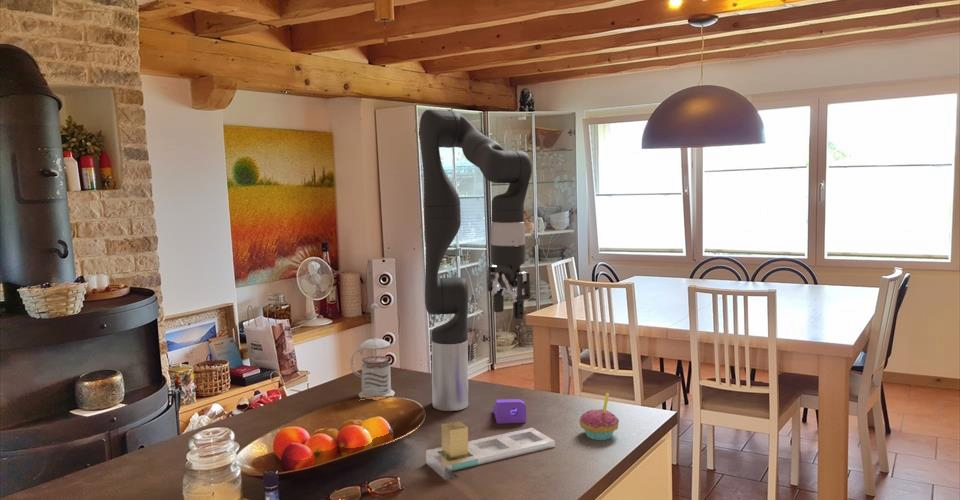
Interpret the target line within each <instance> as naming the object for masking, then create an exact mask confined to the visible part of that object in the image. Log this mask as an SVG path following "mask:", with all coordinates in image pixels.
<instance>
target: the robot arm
mask: <svg viewBox="0 0 960 500" xmlns="http://www.w3.org/2000/svg"><path fill="white" fill-rule="evenodd" d="M418 133H419V143H420V152H421V153H420V154H421V162H422V171H423V172H422V173H423V223H424V240H425V268H424V270H425V271H424V272H425V274H424V275H425V276H424V304H425V310H426V312H427V313H428V314H429V315H433V316H435V315H453V314H454V315H453V316H452V318H451V319H449V320H448V321H447V322H445V323H442V324H441V325H438V326H436V327H434V328H433V329H432V330H431V333H430V334H431V335H430V336H431V337H430V338H431V387H432V388H431V389H432V391H431V394H432V398H431V399H432V400H431V401H432V407H433V408H434V409H435V410H437V411H442V412H454V411H456V412H457V411H461V410H464V409H466V408H468V406H469V355H468V354H469V350H468V349H469V346H468V345H469V344H468V342H469V341H468V317H469V316H468V313H469V311H468V310H469V285H468V282H467V280H466V278H464V277H459V276H458V277H454V276H453V277H439V270H440V267H441V264H442V261H443V258H444V257H445V254H446V253H447V251H448V249H449V247H450V246H451V245H452V243H453V241H454V239H455V237H456V236H457V234H458V233H459V231H460V228H461V224H462V223H461V222H462V218H461V217H462V216H461V214H462V213H461V212H462V211H461V198H460V197H459V194H458V191H457V189H456V188H455V187H454V184H453V182H452V181H451V180H450V178H449V176H448V174H446V171H445V168H444V167H443V163H442V161H441V154H440V148H448V149H449V148H458V149H459V148H460V149H462V154H463V156H464V157H465V159H466V160H467V161H468V162H470V163H471V164H472V165H473V166H476V167H477V168H478V169H479V170H480V172H481V173H482V175H483V176H484V179H485V180H487V181H488V182H491V183H493V184H509V185H508V188H507V190H506V191H505V192H504V193H500V194H497V195H495V196H493V197H492V200H491V228H490V263H491V264H492V265H488V266H487V267H488V268H487V269H488V270H487V291H488V292H491V295H492V296H493V312H494V313H503V312H504V302H505V301H504V293H505V290H507V293H508V294H510V295H511V298H512V301H513V302H512V318H513V319H514V320H522V319H523V318H524V314H525V313H524V307H525V306H524V302H525V301H529V300H530V299H531V286H530V285H531V283H530V282H531V281H530V280H531V279H530V272H529V271H521V265H524V264H525V262H526V229H525V210H524V208H525V199H526V196H527V193H528V188H529V185H530V181H531V177H532V171H533V164H532V160H531V158H530V156H529V154H528V153H527V152H525V151H523V150H504V147H503V146H502V145H501V144H499V142H497V141H495V140H494V139H492V138H490V137H489V136H487V135H484V134H483V133H481V132H480V131H479V130H478V129H477V128H476V127H475V126H474V125H473V124H472V123H471V122H470V121H468V119H467V118H466V117H465V116H464V115H463V114H461V113H459V112H458V111H453V110H446V109H445V110H443V109H426V110H424V111H423V112H422V114H421V115H420V120H419V132H418Z"/></svg>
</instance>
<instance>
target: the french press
mask: <svg viewBox="0 0 960 500" xmlns="http://www.w3.org/2000/svg"><path fill="white" fill-rule="evenodd" d="M378 306H379V305H378V304H377V303H371V304H370V309H373V321H374V323H373V324H374V325H373V326H374V327H373V328H374V330H376V313H375V312H376V309H377V308H378ZM390 346H391V343H390V342H389V341H387V340H385V339H382V338H377V337H376V335H374V338H369V339H367V340H366V341H364V342H362V343H361V344H360V348H358V350H356V351H355V352H354V353H353V354H352V356H351V359H350V367H351V368H350V369H351V371H352V373H353V374H354V375H356V376H357V377H359V378H360V380H361V381H360V383H361V391H360V392H359V393H358V397H359V398H360V399H362V397H374V396H392V397H394V395H395V393H396V392H395V391H394V390H393V389H392V383H391V381H392V379H391V363H390V362H389V360H390V358H389V357H388V356H385V355H377V350H384V349H387V348H390ZM363 349H364V350H367V351H370V350H373V351H374V355H372V356H371V355H370V356H366V357H364V358H363V359H362V365H361V373H359V372H357V370H356V369H355V367H354V357H355V355H356V354H357V353H360V356H362V355H363ZM372 366H373V367H372ZM378 366H380V367H378ZM370 367H371V368H370ZM382 377H383V378H382Z"/></svg>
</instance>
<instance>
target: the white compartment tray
mask: <svg viewBox="0 0 960 500" xmlns="http://www.w3.org/2000/svg"><path fill="white" fill-rule="evenodd" d="M551 448H556V441H555V440H554V439H553V438H550V437H549V436H547V435H546V434H544V433H542V432H540V431H538V430H537V429H535V428H533V427H529V428H525V429H519V430H515V431H510V432H505V433H502V434H497V435H492V436H487V437H486V436H485V437H481V438H479V439H473V440H468V457H466V458H462V459H457V460H453V461H447V460H446V459H445V458H444V457H443V456H442V446H441V447H436V448H432V449H431V448H429V449H426V450H425V463H426V465H428V467H430V468H431V469H432V470H433V471H434V472H436V473H437V474H438V476H440V477H441V478H442V479H443V480H450V479H454V478H457V477H458V478H459V476H458V475H457V474H456V473H455V472H454V471H457V470H462V469H467V468H471V467H476V466H479V465H484V464H487V463H491V462H495V461H499V460H504V459H509V458H513V457H517V456H520V455H525V454H530V453H533V452H538V451H539V452H540V451H542V450H547V449H551Z"/></svg>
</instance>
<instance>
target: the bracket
mask: <svg viewBox="0 0 960 500" xmlns="http://www.w3.org/2000/svg"><path fill="white" fill-rule="evenodd" d="M492 414H494V418H495V421H496V424H523V423H527V406H526V404H525V402H524V401H523V400H522V399H519V398H515V399H514V398H513V399H509V398H508V399H495V405H493V406H492Z"/></svg>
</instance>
